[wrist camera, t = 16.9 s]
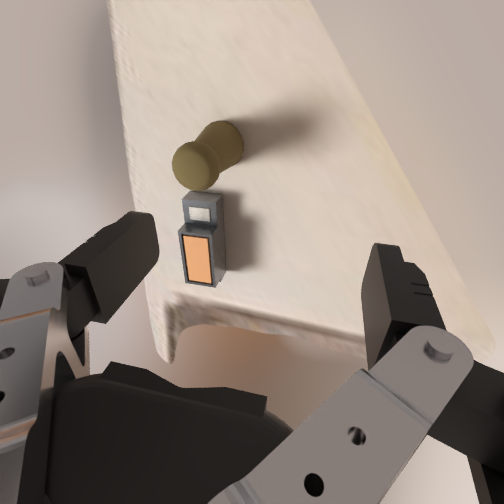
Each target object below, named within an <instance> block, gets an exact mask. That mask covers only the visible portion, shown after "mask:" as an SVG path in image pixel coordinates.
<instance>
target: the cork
mask: <svg viewBox="0 0 504 504" xmlns="http://www.w3.org/2000/svg"><path fill="white" fill-rule="evenodd" d="M243 152H244V142H243V139H242V136H241V134H240V132H239V131H238V129H237V128H235V127H234V126H233V125H232V124H230V123H228V122H225V121H216V122H212V123H210V124H209V125H208V126H206V127H205V129H204V130H203V131H202V132H201V134H200V135H199V136H198V137H197V139H196V140H195V141H192V142H188V143H185V144H183V145H182V146H181V147H179V148H178V149H177V151H176V153H175V154H174V156H173V160H172V168H173V172H174V175H175V177H176V179H177V180H178V181H179V183H180V184H182V185H183V186H184V187H186V188H188V189H190V190H194V191H201V190H206V189H208V188H209V187H211V186H213V184H214V183H215V182H216V180H217V179H218V177H219V174H220V173H221V172H223V171H224V170H226V169H228V168H229V167H231V166H233V165H234V164H236V163H238V161H239V160H240V159H241V157H242V154H243Z"/></svg>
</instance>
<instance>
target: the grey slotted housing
mask: <svg viewBox="0 0 504 504" xmlns="http://www.w3.org/2000/svg"><path fill="white" fill-rule="evenodd" d="M182 204H183V211H184V219H185V224H184V225H183V226H182V227H181V228H180V229H179V231H178V235H179V242H180V248H181V255H182V262H183V269H184V276H185V282H186V283H189V284H196V285H202V286H209V287H215V288H216V286H217V284H218V282H219V281H220V282H221V280H222V278H223V276H224V274H225V272H226V257H225V237H224V218H223V199H222V194H215V193H205V192H194V191H190V192H189V193H188V194H187V195H186V196H185V197H184V198H183V199H182ZM184 234H186V235H194V236H202V237H209V243H210V254H211V266H212V278H213V281H212V283H206V282H199V281H193V280H189V274H188V267H187V260H186V252H185V245H184V238H183V236H184Z"/></svg>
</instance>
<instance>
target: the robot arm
mask: <svg viewBox="0 0 504 504" xmlns="http://www.w3.org/2000/svg"><path fill="white" fill-rule="evenodd" d="M158 258H159V244H158V238H157V233H156V227H155V222H154V218H153V216H152V215H151V214H150V213H143V212H135V211H130V212H128V213H127V214H126V215H124V216H123V217H122V218H120V219H119V220H118V221H117V222H115V223H113V224H111V225H108V226H106V227H104V228H102V229H101V230H100V231H98V232H97V233H96V234H95V235H94V237H91V238H89V239H88V240H87V241H86V243H83V244H82V245H80V246H79V247H78V248H77V249H75V250H74V251H73V252H71V253H70V254H69V255H67V256H66V257H65V258H64V259H62V260H61V261H60V262H58V263H54V262H43V263H38V264H34V265H31V266H28V267H26V268H24V269H22V270H20V271H18V272H17V273H16V274H14V275H13V276H12V278H11V279H0V504H379V503H380V502H381V501H382V499H383V498H384V496H385V495H386V493H387V492H388V490H389V489H390V487H391V486H392V484H393V483H394V482H395V480H396V479H397V477H398V476H399V474H400V473H401V471H402V470H403V469H404V467H405V466H406V464H407V463H408V461H409V460H410V458H411V457H412V456H413V454H414V453H415V451H416V450H417V448H418V447H419V445H420V444H421V443H422V441H423V440H424V438H425V437H426V435H429V436H431V437H433V438H435V439H436V440H438V441H440V442H442V443H444V444H446V445H448V446H450V447H452V448H454V449H455V450H457V451H459V452H461V453H463V454H465V455H467V458H468V462H469V465H470V469H471V473H472V477H473V481H474V485H475V489H476V492H477V496H478V500H479V504H504V373H502V372H500V371H498V370H495V369H493V368H490V367H488V366H485V365H483V364H481V363H479V362H477V361H475V360H473V356H472V353H471V351H470V350H469V348H468V347H467V346H466V345H465V344H464V343H463V342H462V341H461V340H460V339H459V338H457V337H456V336H455V335H453V334H451V333H449V332H448V331H447V330H446V328H445V325H444V322H443V320H442V317H441V315H440V312H439V309H438V307H437V304H436V302H435V299H434V297H433V294H432V291H431V289H430V287H429V284H428V281H427V278H426V276H425V274H424V273H423V272H422V271H421V270H420V269H419V268H418V267H417V266H416V265H415V264H414V263H409V262H404V260H403V256H402V253H401V250H400V247H399V246H395V245H388V244H380V243H374V245H373V247H372V250H371V253H370V257H369V260H368V264H367V268H366V271H365V275H364V278H363V282H362V289H361V300H362V311H363V321H364V331H365V342H366V352H367V362H368V372H367V371H366V370H364V369H360V370H358V371H357V372H356V373H354V374H353V375H352V376H351V377H350V378H349V379H348V380H347V381H346V382H345V383H344V384H343V385H342V386H341V387H340V388H339V389H338V390H337V391H335V392H334V393H333V394H332V395H331V396H330V397H329V398H328V399H327V400H326V401H325V402H324V403H323V404H322V405H321V406H320V407H319V408H318V409H317V410H315V411H314V412H313V413H312V414H311V415H310V416H309V417H308V418H307V419H306V420H305V421H304V422H303V423H302V424H301V425H300V426H299V427H298V428H296V429H295V430H294V431H293V430H292V428H291V427H289V426H288V425H287V424H286V423H285V422H284V421H283V420H281V419H280V418H278V417H277V416H276V415H274V414H272V413H271V412H269V411H267V410H266V404H267V396H263V395H258V394H253V393H249V392H245V391H240V390H236V389H232V388H227V387H215V388H214V387H213V388H181V387H178V386H176V385H174V384H172V383H170V382H169V381H167V380H165V379H163V378H161V377H160V376H158V375H156V374H154V373H152V372H151V371H149V370H147V369H143V368H139V367H134V366H130V365H125V364H121V363H117V362H112V361H111V362H110V363H109V365H108V366H107V368H106V369H105V370H104V372H103V373H102V374H94V375H90V367H89V366H90V365H89V364H90V361H89V331H88V328H87V325H88V323H89V322H90V321H94V322H99V323H104V324H106V323H107V322H108V321H109V319H110V318H111V317H112V316H113V315H114V313H115V312H116V311H117V310H118V309H119V307H120V306H121V305H122V304H123V303H124V301H125V300H126V299H127V298H128V297H129V295H130V294H131V293H132V292H133V291H134V289H135V288H136V287H137V286H138V285H139V283H140V282H141V281H142V280H143V279H144V277H145V276H146V275H147V274H148V273H149V271H150V270H151V269H152V268H153V267H154V265H155V264H156V263H157V261H158Z"/></svg>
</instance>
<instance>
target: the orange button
mask: <svg viewBox="0 0 504 504" xmlns="http://www.w3.org/2000/svg"><path fill="white" fill-rule="evenodd" d="M183 238H184V245H185V252H186V260H187V267H188V274H189V280H193V281H199V282H206V283H212V281H213V278H212V266H211V254H210V243H209V237H202V236H194V235H186V234H184V236H183Z"/></svg>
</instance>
